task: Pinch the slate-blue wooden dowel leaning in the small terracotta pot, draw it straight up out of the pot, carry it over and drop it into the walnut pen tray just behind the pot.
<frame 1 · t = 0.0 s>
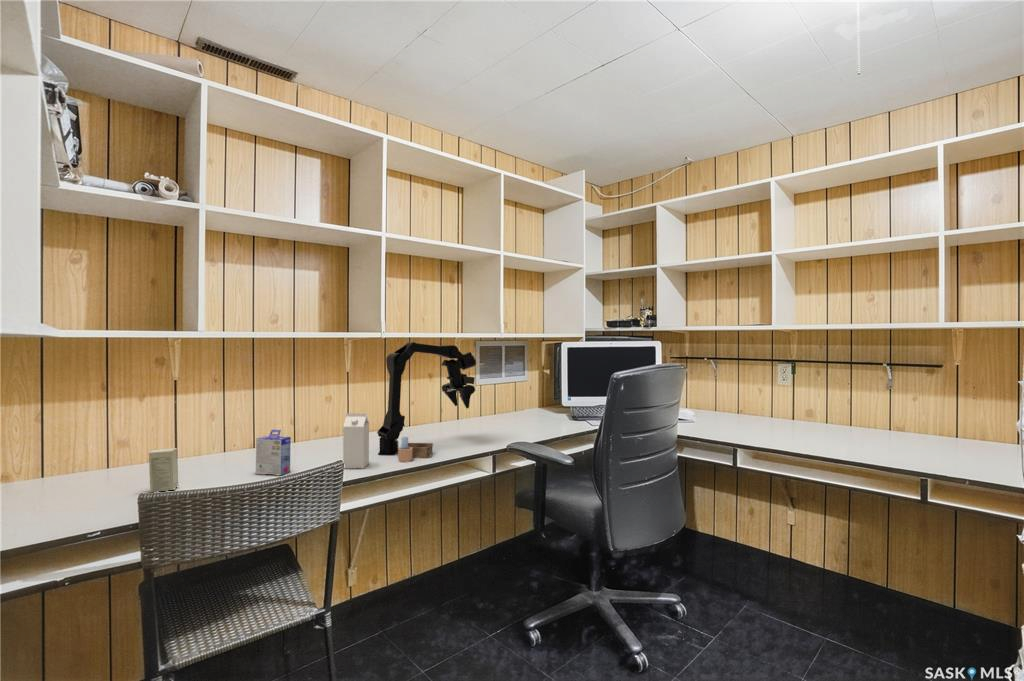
hand: (461, 406, 220), 15 cm above the table, tool pointing down, fingers open, 9 cm apart
walnut tray: (417, 455, 195), on the table
skincare box: (164, 490, 151), on the table
milk carton: (356, 466, 179), on the table
terracotta pot: (405, 460, 187), on the table
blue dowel: (405, 461, 187), resting on terracotta pot, tilted 7°
ink cartridge box: (273, 473, 170), on the table
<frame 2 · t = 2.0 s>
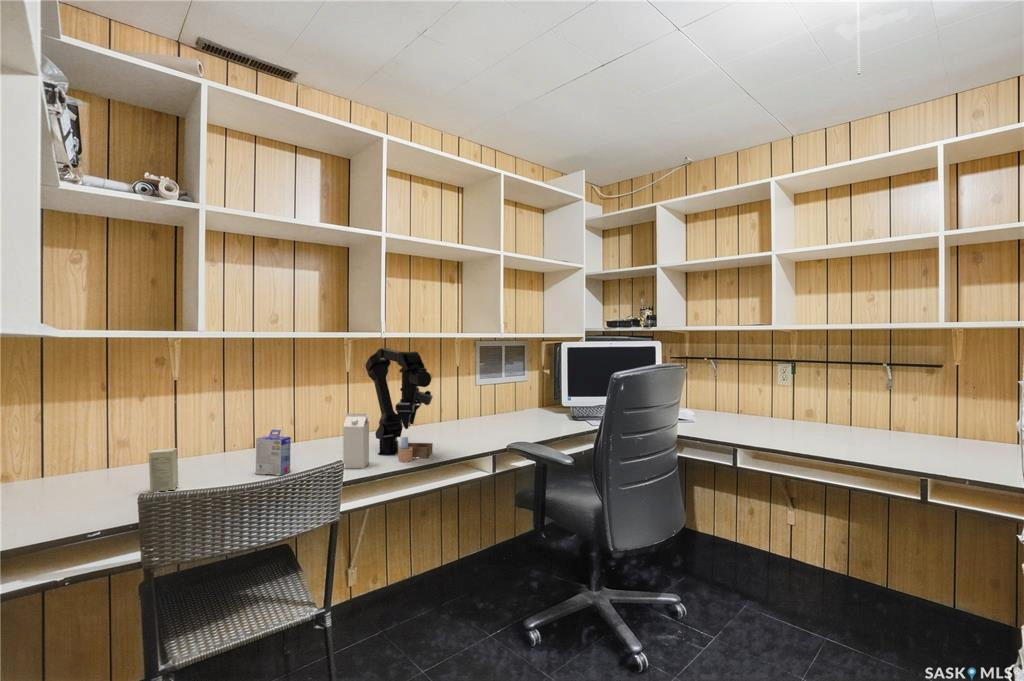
hand: (409, 426, 187), 13 cm above the table, tool pointing down, fingers open, 9 cm apart
nothing on the table moved.
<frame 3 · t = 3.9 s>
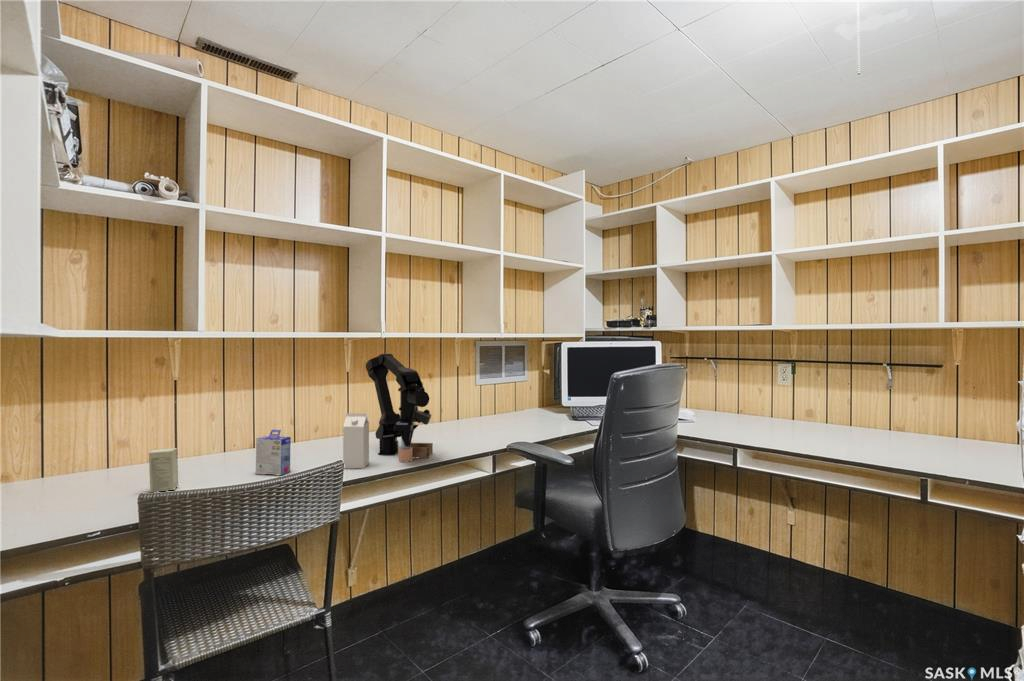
hand: (408, 445, 187), 6 cm above the table, tool pointing down, fingers closed on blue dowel, 2 cm apart
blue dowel: (405, 461, 187), resting on terracotta pot, tilted 8°, touching gripper
everything else where it was.
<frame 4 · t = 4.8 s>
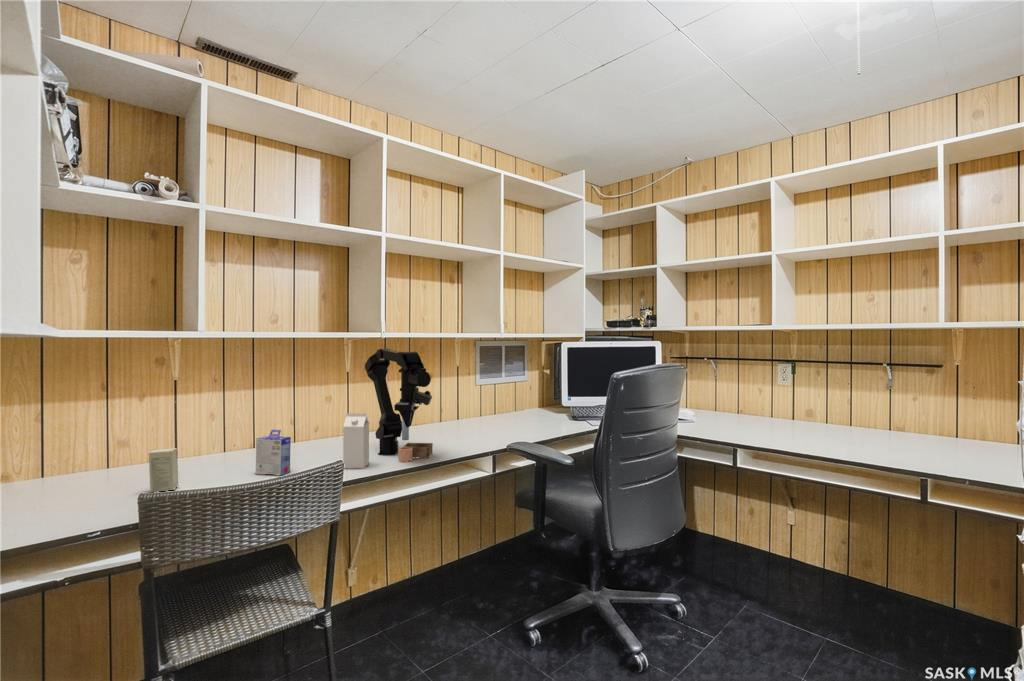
hand: (408, 426, 188), 13 cm above the table, tool pointing down, fingers closed on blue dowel, 2 cm apart
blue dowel: (406, 442, 188), point 7 cm above the table, tilted 8°, touching gripper
everything else where it was.
when the fingers open (8 cm above the table, at t = 6.2 s): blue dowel drops 2 cm, resting on walnut tray.
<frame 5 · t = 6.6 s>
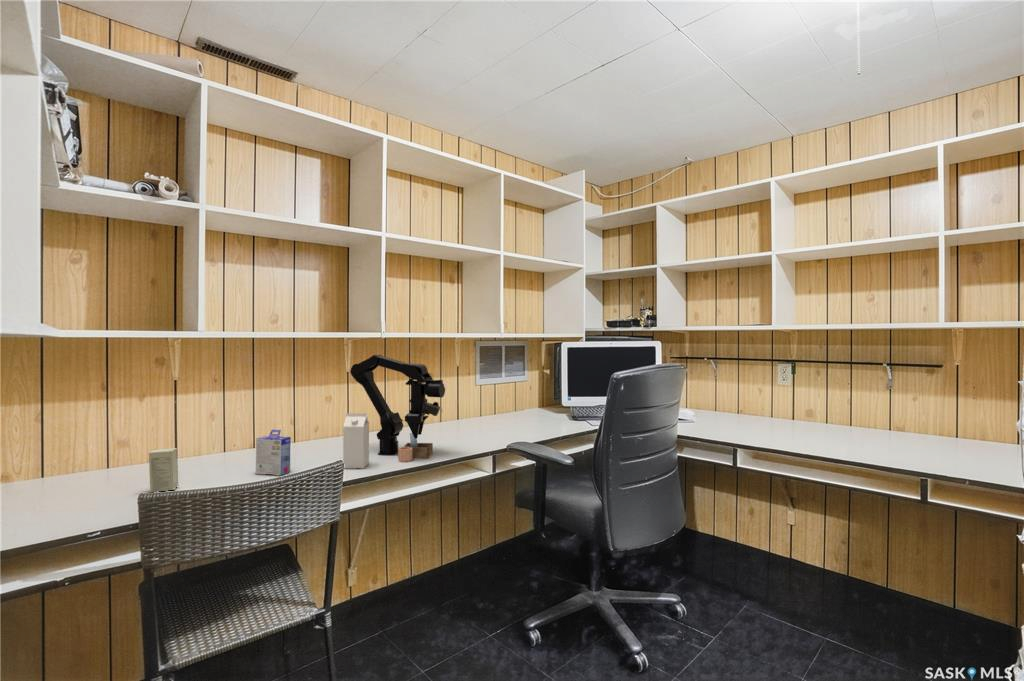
hand: (417, 436, 195), 7 cm above the table, tool pointing down, fingers open, 7 cm apart
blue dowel: (415, 455, 195), resting on walnut tray, tilted 13°
everything else where it was.
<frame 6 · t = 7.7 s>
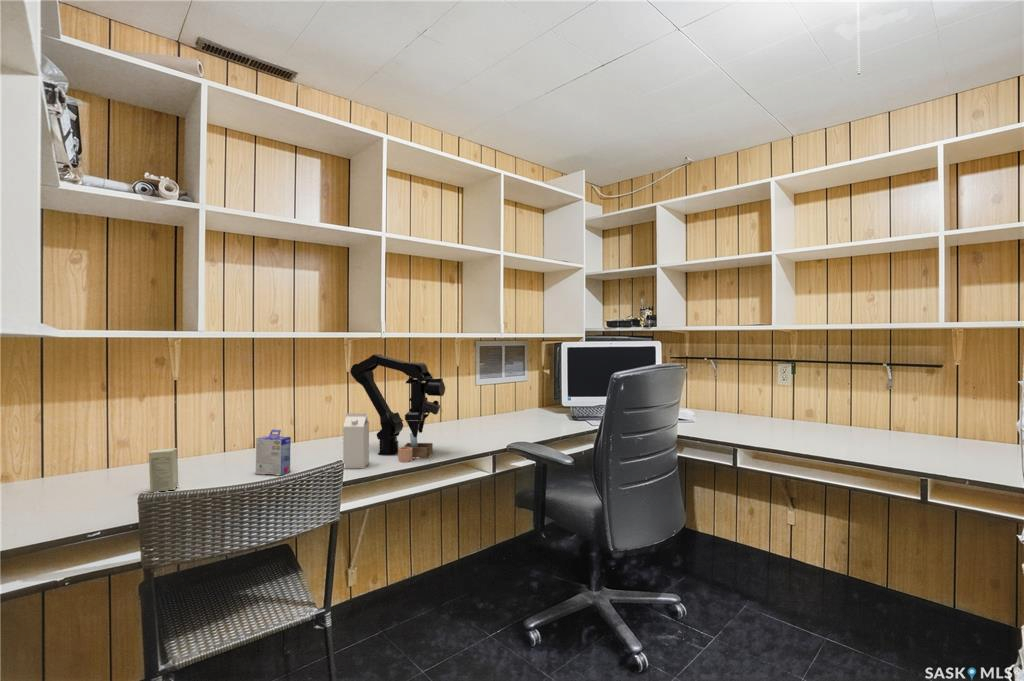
hand: (418, 434, 195), 8 cm above the table, tool pointing down, fingers open, 9 cm apart
nothing on the table moved.
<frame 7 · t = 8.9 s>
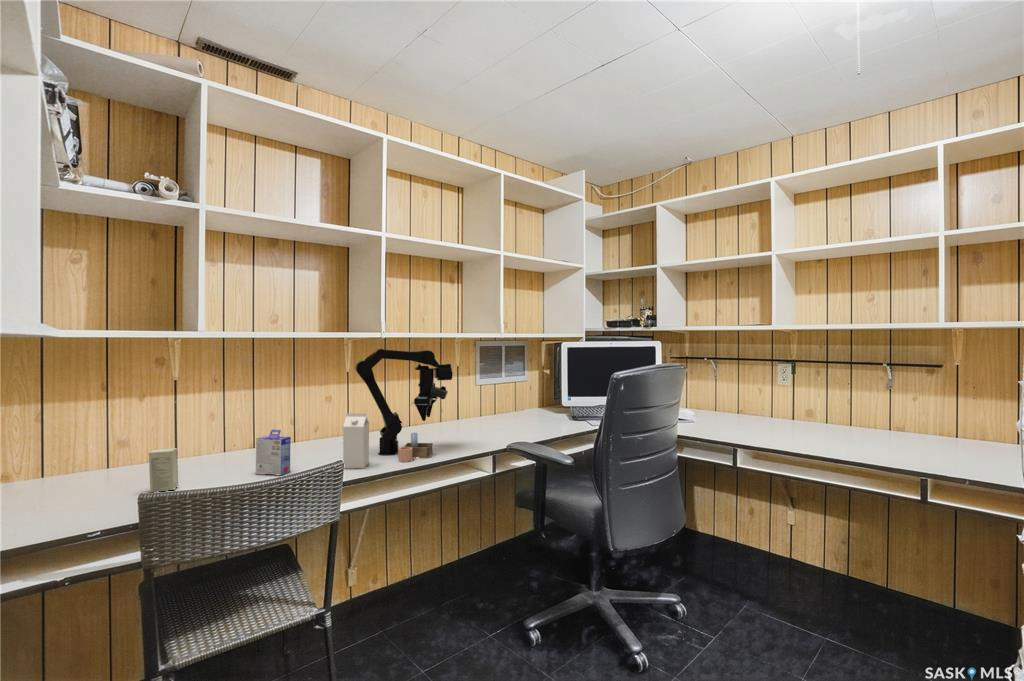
hand: (426, 418, 204), 13 cm above the table, tool pointing down, fingers open, 9 cm apart
nothing on the table moved.
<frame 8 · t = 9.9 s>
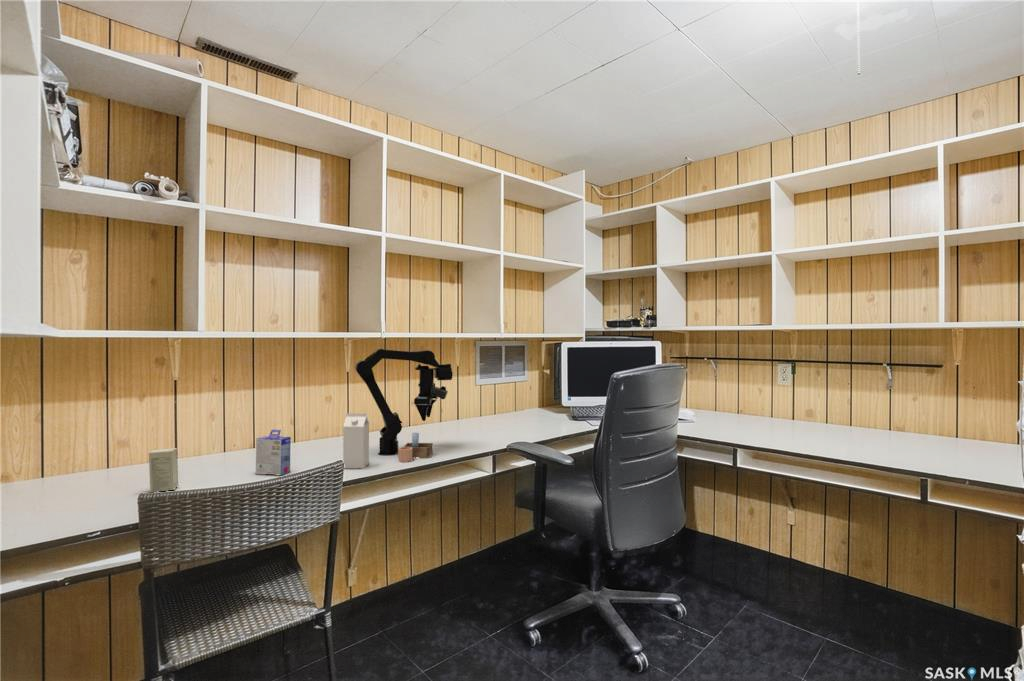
hand: (426, 418, 204), 13 cm above the table, tool pointing down, fingers open, 9 cm apart
nothing on the table moved.
at the end: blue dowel inside the target area on the walnut tray (0.9 cm from its centre), point 0.0 cm above the walnut tray's base; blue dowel touching walnut tray; the gripper is holding nothing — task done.
